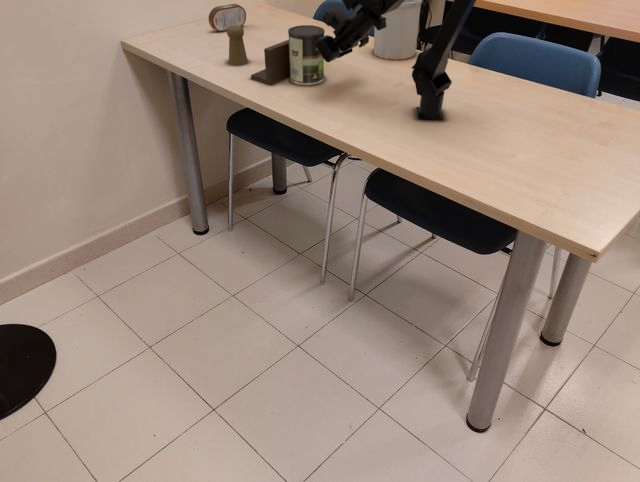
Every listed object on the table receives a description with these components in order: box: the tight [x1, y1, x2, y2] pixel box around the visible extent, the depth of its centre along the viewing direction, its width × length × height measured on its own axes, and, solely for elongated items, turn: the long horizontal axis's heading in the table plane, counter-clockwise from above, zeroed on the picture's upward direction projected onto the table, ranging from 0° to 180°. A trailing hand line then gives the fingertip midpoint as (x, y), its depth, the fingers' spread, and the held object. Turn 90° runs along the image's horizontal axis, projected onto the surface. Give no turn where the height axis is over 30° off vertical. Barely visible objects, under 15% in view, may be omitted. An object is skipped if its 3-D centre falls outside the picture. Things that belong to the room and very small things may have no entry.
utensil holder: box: [373, 0, 423, 61], centre depth 163 cm, size 15×15×18 cm
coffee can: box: [287, 24, 326, 86], centre depth 145 cm, size 10×10×14 cm
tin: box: [208, 3, 247, 32], centre depth 186 cm, size 15×3×8 cm, turn 130°
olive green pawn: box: [226, 25, 249, 66], centre depth 158 cm, size 6×6×11 cm
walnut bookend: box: [250, 39, 290, 86], centre depth 151 cm, size 8×20×10 cm, turn 143°
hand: (325, 59), depth 142 cm, fingers closed
